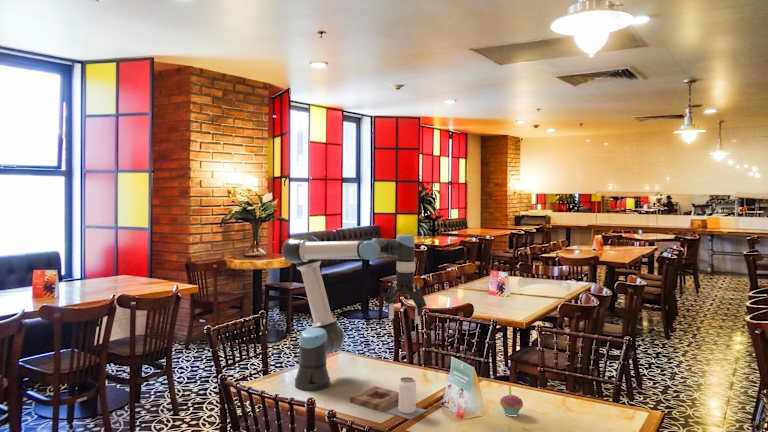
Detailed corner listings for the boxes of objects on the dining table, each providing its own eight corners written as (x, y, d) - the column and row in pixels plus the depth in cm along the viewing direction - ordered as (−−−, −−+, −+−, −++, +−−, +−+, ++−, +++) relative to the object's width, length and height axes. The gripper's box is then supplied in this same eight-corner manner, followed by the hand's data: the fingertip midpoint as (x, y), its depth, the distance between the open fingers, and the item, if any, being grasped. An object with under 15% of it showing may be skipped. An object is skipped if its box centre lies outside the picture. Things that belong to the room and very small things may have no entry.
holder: (349, 402, 226) (350, 396, 226) (374, 391, 239) (374, 385, 239) (382, 412, 216) (382, 405, 216) (406, 400, 229) (406, 394, 229)
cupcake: (518, 420, 211) (518, 388, 210) (496, 415, 215) (496, 384, 215) (525, 413, 218) (526, 382, 217) (504, 408, 222) (505, 378, 222)
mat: (386, 412, 216) (386, 411, 216) (403, 404, 225) (403, 403, 225) (410, 419, 209) (410, 418, 209) (426, 411, 218) (426, 410, 218)
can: (414, 414, 213) (414, 383, 213) (396, 413, 214) (397, 381, 214) (416, 408, 219) (417, 377, 219) (400, 407, 221) (400, 376, 220)
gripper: (435, 273, 239) (433, 323, 239) (386, 267, 254) (385, 315, 254) (425, 274, 233) (424, 326, 233) (376, 269, 248) (375, 318, 248)
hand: (404, 321), depth 244 cm, fingers open, 13 cm apart
